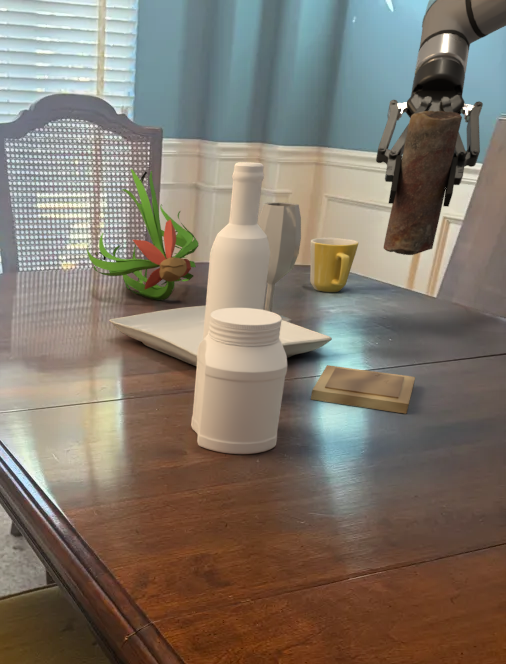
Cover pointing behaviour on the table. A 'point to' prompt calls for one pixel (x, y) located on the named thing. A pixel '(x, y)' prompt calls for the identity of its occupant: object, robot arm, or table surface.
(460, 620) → the table surface
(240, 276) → the bottle
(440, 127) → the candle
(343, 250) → the mug
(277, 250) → the wineglass
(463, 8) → the robot arm
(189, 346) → the square plate
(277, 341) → the jar
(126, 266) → the decorative plant
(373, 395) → the board
